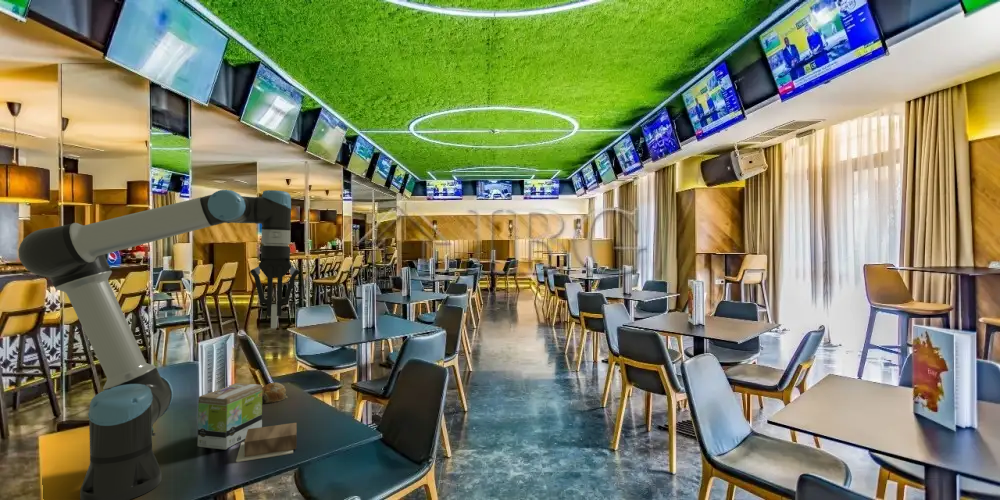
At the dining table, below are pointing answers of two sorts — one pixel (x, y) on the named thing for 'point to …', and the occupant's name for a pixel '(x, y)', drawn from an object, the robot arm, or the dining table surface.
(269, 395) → the bread roll
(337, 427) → the dining table surface
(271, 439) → the slab
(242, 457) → the mat
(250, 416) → the tea box
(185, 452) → the dining table surface
